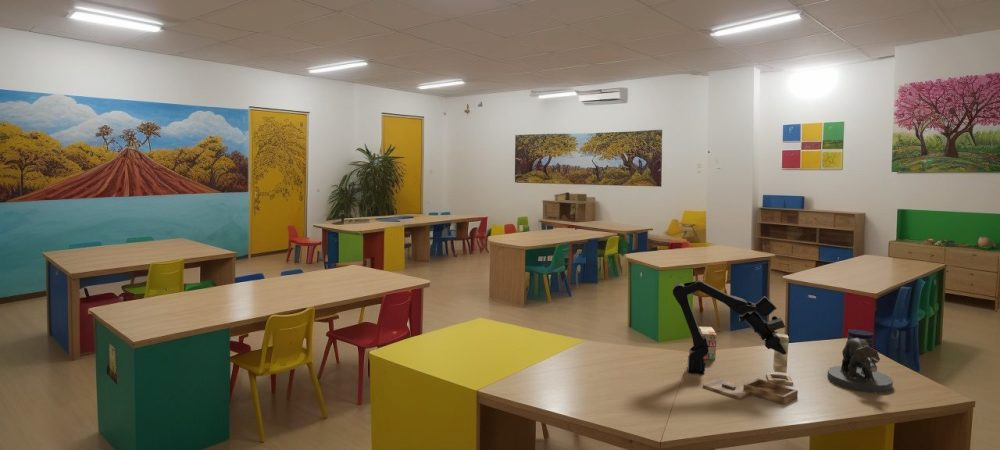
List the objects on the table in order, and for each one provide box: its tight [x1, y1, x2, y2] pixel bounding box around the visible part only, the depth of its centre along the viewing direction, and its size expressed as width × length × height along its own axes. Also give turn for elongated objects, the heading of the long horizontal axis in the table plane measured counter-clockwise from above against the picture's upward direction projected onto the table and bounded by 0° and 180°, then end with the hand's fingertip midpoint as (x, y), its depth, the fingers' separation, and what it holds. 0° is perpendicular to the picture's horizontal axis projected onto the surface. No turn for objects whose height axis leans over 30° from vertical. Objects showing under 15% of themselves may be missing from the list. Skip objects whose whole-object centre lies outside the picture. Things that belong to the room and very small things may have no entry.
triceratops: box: [827, 337, 894, 394], centre depth 246 cm, size 23×35×18 cm, turn 166°
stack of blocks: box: [698, 326, 718, 361], centre depth 284 cm, size 21×6×12 cm, turn 170°
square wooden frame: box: [765, 371, 794, 386], centre depth 248 cm, size 9×9×1 cm
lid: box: [702, 378, 752, 400], centre depth 236 cm, size 16×11×2 cm
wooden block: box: [772, 333, 790, 374], centre depth 247 cm, size 5×5×15 cm
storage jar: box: [846, 328, 874, 368], centre depth 268 cm, size 10×10×15 cm
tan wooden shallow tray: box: [742, 378, 799, 406], centre depth 232 cm, size 16×11×3 cm
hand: (784, 352), depth 246 cm, fingers closed on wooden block, 4 cm apart
